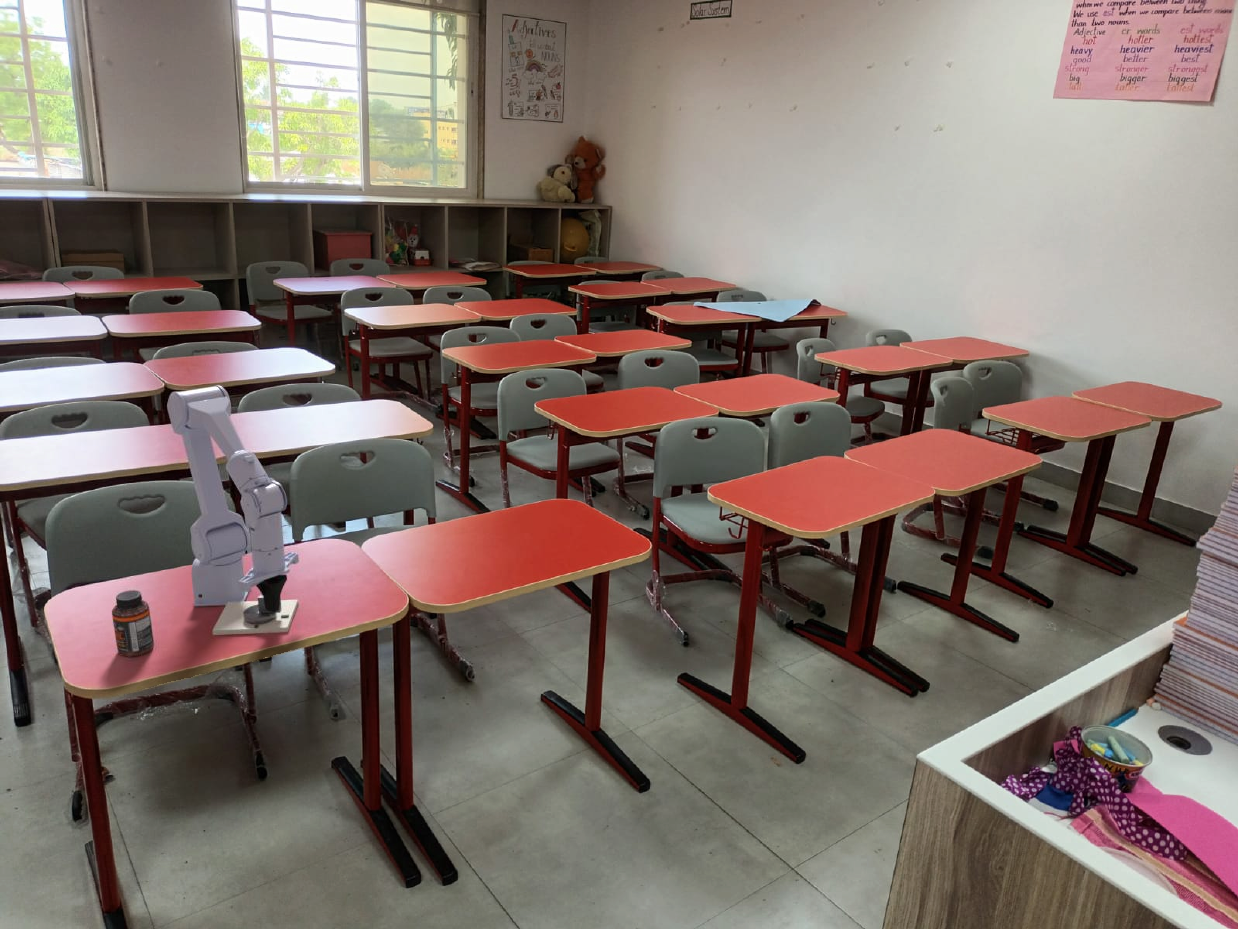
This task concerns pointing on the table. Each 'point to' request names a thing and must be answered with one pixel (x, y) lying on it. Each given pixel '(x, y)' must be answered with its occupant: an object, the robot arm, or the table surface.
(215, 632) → the dial plate
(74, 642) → the table surface
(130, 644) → the supplement bottle
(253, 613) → the dial
